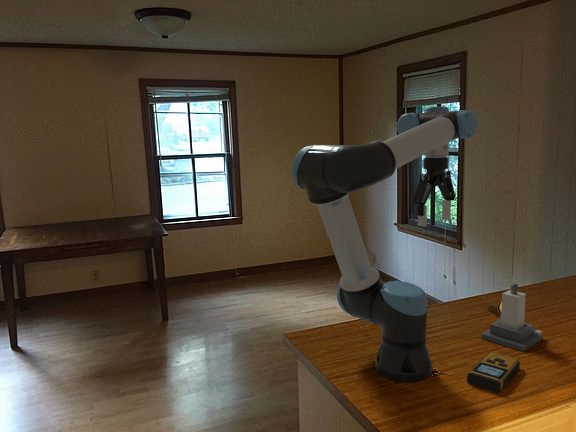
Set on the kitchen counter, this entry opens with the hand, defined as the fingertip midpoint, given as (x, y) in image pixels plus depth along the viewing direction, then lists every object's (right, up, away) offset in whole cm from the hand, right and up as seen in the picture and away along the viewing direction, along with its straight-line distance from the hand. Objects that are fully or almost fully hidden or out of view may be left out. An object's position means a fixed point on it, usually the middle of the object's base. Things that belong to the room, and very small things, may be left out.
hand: (434, 223), depth 156 cm
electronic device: (+7, -40, -28) cm, 50 cm away
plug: (+22, -34, -7) cm, 41 cm away
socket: (+22, -36, -6) cm, 42 cm away
